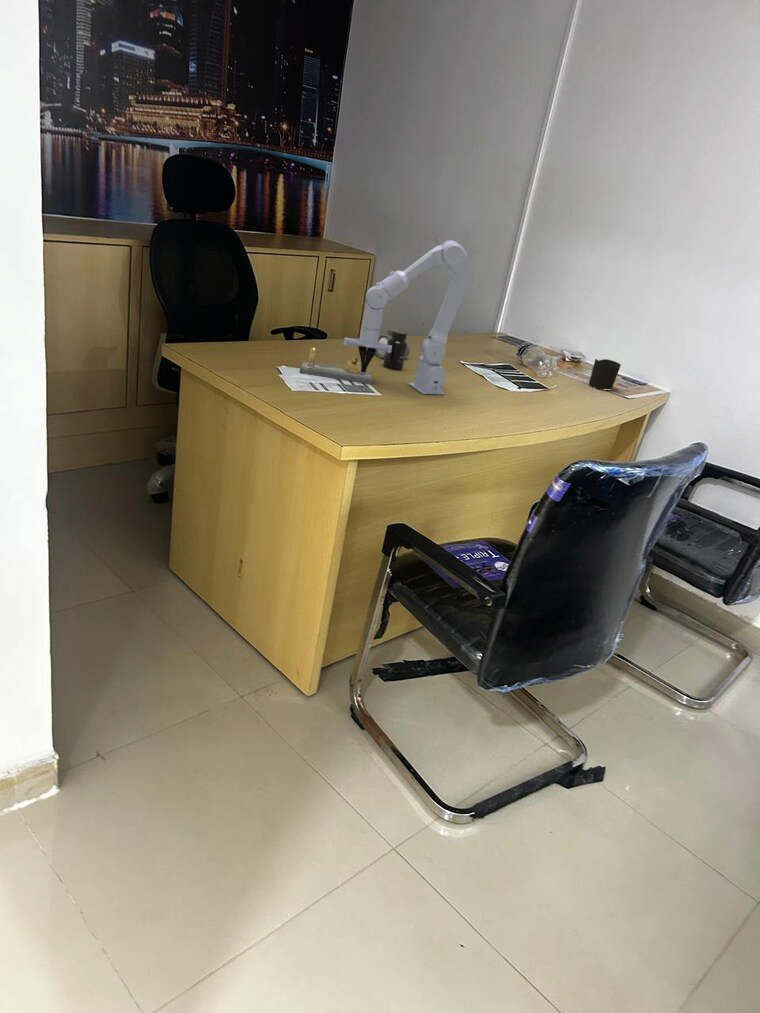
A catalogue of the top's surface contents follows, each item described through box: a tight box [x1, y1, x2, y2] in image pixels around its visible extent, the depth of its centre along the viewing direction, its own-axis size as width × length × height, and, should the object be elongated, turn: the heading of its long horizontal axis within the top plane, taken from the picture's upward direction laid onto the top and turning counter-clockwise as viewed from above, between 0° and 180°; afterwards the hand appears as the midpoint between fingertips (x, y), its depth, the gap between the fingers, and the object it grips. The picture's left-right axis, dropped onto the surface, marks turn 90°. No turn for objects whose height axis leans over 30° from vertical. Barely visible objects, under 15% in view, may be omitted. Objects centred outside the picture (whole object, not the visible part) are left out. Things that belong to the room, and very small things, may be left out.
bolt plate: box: [299, 347, 373, 385], centre depth 222 cm, size 22×10×7 cm, turn 93°
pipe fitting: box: [375, 328, 411, 359], centre depth 254 cm, size 12×8×10 cm
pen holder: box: [588, 358, 622, 390], centre depth 271 cm, size 9×9×10 cm
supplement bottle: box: [383, 329, 408, 371], centre depth 241 cm, size 7×7×12 cm
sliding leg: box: [345, 356, 361, 373], centre depth 221 cm, size 4×6×4 cm, turn 3°
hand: (363, 371), depth 223 cm, fingers closed
